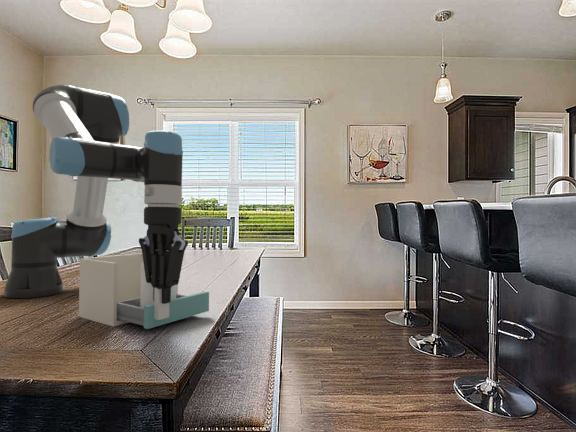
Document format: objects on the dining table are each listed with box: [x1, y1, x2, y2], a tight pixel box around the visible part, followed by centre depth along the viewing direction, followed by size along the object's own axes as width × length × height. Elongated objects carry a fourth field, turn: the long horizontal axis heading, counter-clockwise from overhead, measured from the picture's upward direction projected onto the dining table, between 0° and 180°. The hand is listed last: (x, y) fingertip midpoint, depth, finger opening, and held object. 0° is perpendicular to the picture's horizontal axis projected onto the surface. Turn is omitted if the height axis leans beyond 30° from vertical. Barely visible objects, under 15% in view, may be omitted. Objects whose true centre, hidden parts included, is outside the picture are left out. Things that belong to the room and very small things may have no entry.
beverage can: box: [140, 263, 176, 308], centre depth 88 cm, size 8×8×12 cm
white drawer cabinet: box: [78, 252, 179, 327], centre depth 93 cm, size 14×18×14 cm
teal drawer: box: [117, 291, 210, 330], centre depth 87 cm, size 14×18×5 cm
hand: (161, 317), depth 78 cm, fingers closed
